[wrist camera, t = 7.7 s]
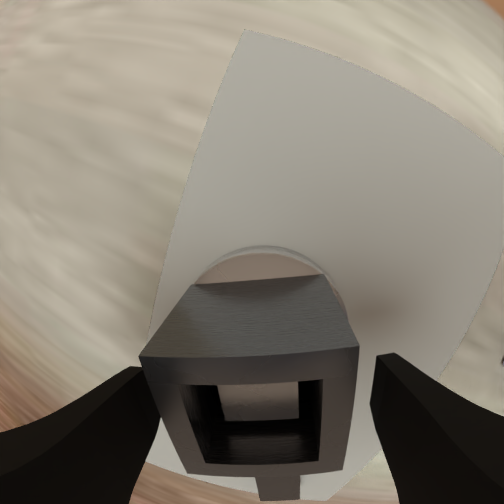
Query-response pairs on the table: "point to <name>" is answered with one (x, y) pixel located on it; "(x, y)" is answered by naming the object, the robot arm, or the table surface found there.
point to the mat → (341, 214)
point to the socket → (255, 375)
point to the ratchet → (275, 394)
